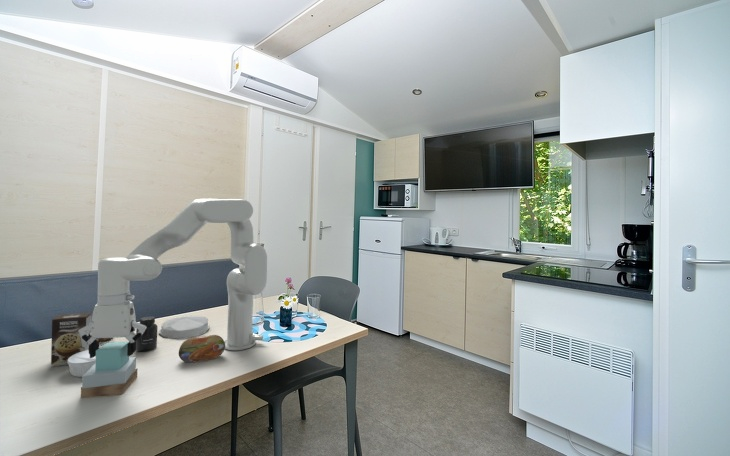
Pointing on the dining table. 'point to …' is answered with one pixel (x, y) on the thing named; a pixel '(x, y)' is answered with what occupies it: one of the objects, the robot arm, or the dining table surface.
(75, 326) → the coffee box
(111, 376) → the slate tile
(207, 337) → the tin
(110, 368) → the teal block
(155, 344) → the supplement bottle
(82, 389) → the walnut tile
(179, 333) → the food container
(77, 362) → the ramekin
